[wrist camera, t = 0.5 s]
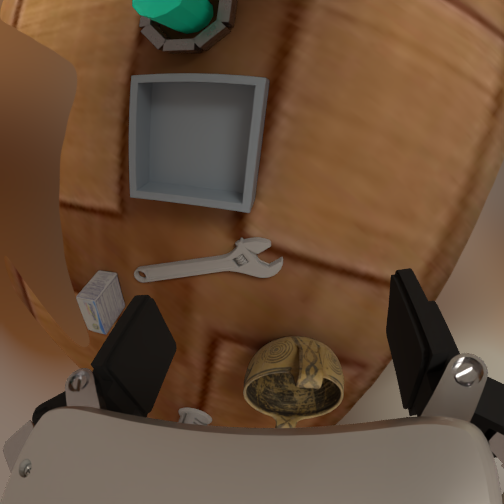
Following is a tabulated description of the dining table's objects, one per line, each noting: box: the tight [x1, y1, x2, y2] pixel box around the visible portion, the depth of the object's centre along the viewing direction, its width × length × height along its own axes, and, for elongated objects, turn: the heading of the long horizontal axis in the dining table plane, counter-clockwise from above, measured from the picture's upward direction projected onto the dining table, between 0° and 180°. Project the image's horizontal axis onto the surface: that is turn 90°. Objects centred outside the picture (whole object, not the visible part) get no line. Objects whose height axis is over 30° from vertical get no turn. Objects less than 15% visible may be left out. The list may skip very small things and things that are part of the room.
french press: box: [178, 408, 212, 425], centre depth 61 cm, size 10×12×25 cm
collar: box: [139, 0, 237, 54], centre depth 26 cm, size 12×12×3 cm
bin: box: [129, 73, 269, 213], centre depth 34 cm, size 16×16×5 cm
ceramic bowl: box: [243, 336, 344, 428], centre depth 47 cm, size 22×17×15 cm
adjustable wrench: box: [134, 237, 283, 282], centre depth 45 cm, size 25×6×2 cm, turn 100°
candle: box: [132, 0, 214, 34], centre depth 23 cm, size 6×6×12 cm
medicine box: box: [76, 270, 125, 334], centre depth 48 cm, size 8×4×9 cm, turn 177°
